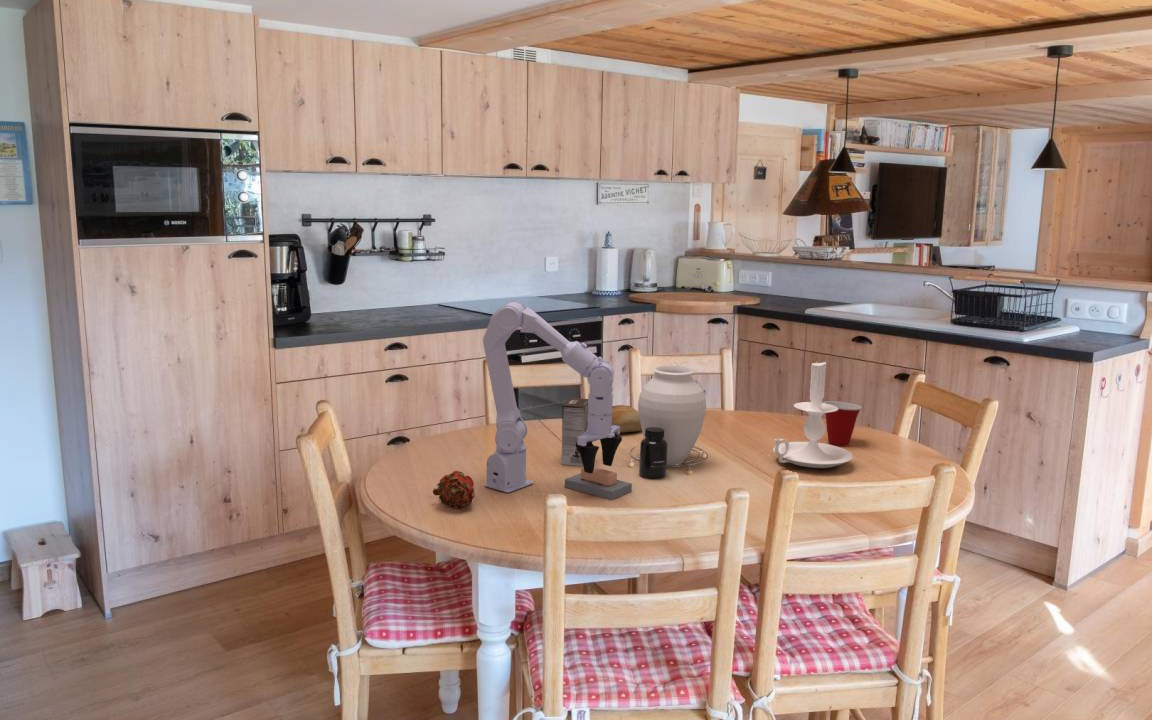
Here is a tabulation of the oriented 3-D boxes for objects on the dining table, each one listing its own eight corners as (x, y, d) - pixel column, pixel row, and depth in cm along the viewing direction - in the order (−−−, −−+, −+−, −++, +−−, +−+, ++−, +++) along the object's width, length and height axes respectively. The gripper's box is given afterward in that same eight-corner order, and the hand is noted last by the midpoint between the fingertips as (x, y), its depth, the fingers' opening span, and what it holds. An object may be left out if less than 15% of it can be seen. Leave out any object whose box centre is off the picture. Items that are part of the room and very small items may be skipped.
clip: (609, 494, 209) (609, 475, 208) (580, 487, 214) (581, 468, 213) (616, 491, 211) (616, 472, 210) (588, 484, 216) (588, 465, 215)
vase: (622, 460, 236) (625, 368, 231) (663, 448, 248) (666, 360, 244) (676, 476, 224) (680, 379, 219) (716, 461, 237) (721, 370, 232)
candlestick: (744, 461, 238) (750, 358, 233) (809, 448, 251) (816, 351, 246) (802, 482, 221) (810, 372, 216) (868, 468, 234) (877, 364, 229)
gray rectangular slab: (612, 500, 205) (612, 491, 205) (564, 487, 213) (564, 479, 213) (631, 491, 211) (631, 483, 211) (584, 479, 220) (584, 471, 219)
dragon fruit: (461, 522, 194) (445, 512, 204) (489, 495, 196) (473, 487, 207) (437, 494, 191) (422, 485, 202) (466, 467, 194) (451, 460, 205)
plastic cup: (866, 445, 256) (870, 405, 253) (842, 451, 250) (845, 409, 247) (836, 436, 264) (839, 397, 262) (812, 441, 258) (815, 401, 256)
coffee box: (568, 455, 240) (569, 397, 237) (591, 456, 239) (592, 398, 236) (560, 464, 231) (561, 404, 228) (584, 466, 230) (586, 406, 227)
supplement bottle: (658, 481, 219) (660, 434, 217) (634, 476, 223) (635, 430, 221) (670, 474, 225) (672, 428, 223) (646, 469, 229) (648, 424, 227)
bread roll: (590, 431, 265) (591, 405, 263) (631, 425, 272) (632, 400, 271) (609, 439, 257) (609, 412, 255) (650, 433, 265) (651, 407, 263)
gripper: (595, 422, 201) (593, 479, 203) (631, 410, 212) (629, 465, 215) (570, 416, 205) (569, 472, 208) (607, 405, 216) (605, 459, 219)
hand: (598, 468), depth 211 cm, fingers open, 7 cm apart
